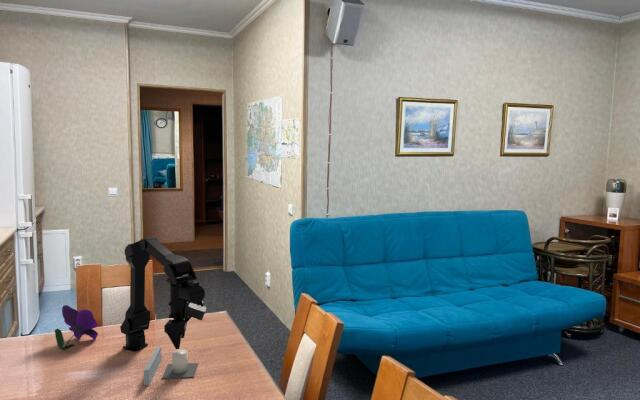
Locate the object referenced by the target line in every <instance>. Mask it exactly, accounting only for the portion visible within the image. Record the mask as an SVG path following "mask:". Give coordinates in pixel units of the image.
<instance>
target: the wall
mask: <svg viewBox="0 0 640 400" xmlns="http://www.w3.org/2000/svg"><path fill="white" fill-rule="evenodd" d="M161 362H162V346H156V348H155V349H154V351H153V353H152V354H151V356H150V358H149V360H148V362H147V363H146V365H145V367H144V369H143V385H144V386H150V384H151V383H152V380H153V379H154V376H155V375H156V372H157V370H158V369H159V367H160V364H161Z"/></svg>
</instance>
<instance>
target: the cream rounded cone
mask: <svg viewBox="0 0 640 400" xmlns="http://www.w3.org/2000/svg"><path fill="white" fill-rule="evenodd" d="M188 354H189V353H188V350H186V349H175V350H173V351H172V352H171V364H172V371H173V373H177V374H180V373H184V372H186V371H188V363H189V355H188Z"/></svg>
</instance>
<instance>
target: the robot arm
mask: <svg viewBox="0 0 640 400" xmlns="http://www.w3.org/2000/svg"><path fill="white" fill-rule="evenodd" d="M124 256H125V261H126V262H127V264H128V265H129V266H130V267H129V268H130V284H129V285H130V287H129V288H130V291H129V293H130V296H129V299H130V304H129V307H128V308H127V310H126V311H125V315H124V316H125V317H124V320H123V322H122V323H121V325H120V327H119V329H120V333H122V335H125V345H123V346H122V349H124V350H128V351H132V352H137V351H140V350H142V349H143V348H145V347H148V345H149V343H147V342H146V335H145V331H146V330H149V329H150V322H151V321H152V320H151V311H150V310H149V309H148V308H147V307H146V304H145V303H146V299H145V298H146V266H147V265H148V263H149V262H150V260H151V256H152V257H153V259H155V260H156V261H157V262H158V263H159V264H161V265H162V267H163V272H164V274H165V275H166V276H167V277H168V278H167V279H166V280H165V281H166V283H168V284H169V301H168V306H169V315H168V320H167V321H166V322H165V325H164V326H163V328H164V333H165V334H166V335H167V336H168V338H169V339H170V342H171V343H172V345H173V346H174V348H175V350H180V346H181V342H182V341H181V340H182V339H185V335H186V331H187V326H188V322H189V321H190V320H191V319H192V318H193V319H196V320H198V321H203V319H204V317H205V314H206V311H207V306H205V303H204V302H205V301H203V300H204V299H205V295H206V292H205V289H204V287H202V286H200V282H199V281H196V280H198V279H197V274H196V272H195V270H194V269H193V266H192V264H191V261H190V260H189V259H188V258H186V257H184V256H182V255H179V254H175V253H173V252H172V251H171V250H170V249H168V248H167V247H166V246H165V245H163V243H161V242H160V241H159V240H158V238H157V237H155V236H149V237H143V238H142V239H140V240H138V241H135V242H133V243H128V244H127V245H126V246H125V247H124Z"/></svg>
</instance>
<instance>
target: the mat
mask: <svg viewBox="0 0 640 400" xmlns="http://www.w3.org/2000/svg"><path fill="white" fill-rule="evenodd" d="M198 366H199V363H198V362H188V371H186V372H184V373H180V374H177V373H173V371H172V363H168V364H167V365H166V368H165V370H164V371H163V373H162V377H161V380H166V379H167V380H168V379H169V380H172V379H193V378H195V375H196V371H197V368H198Z"/></svg>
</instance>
